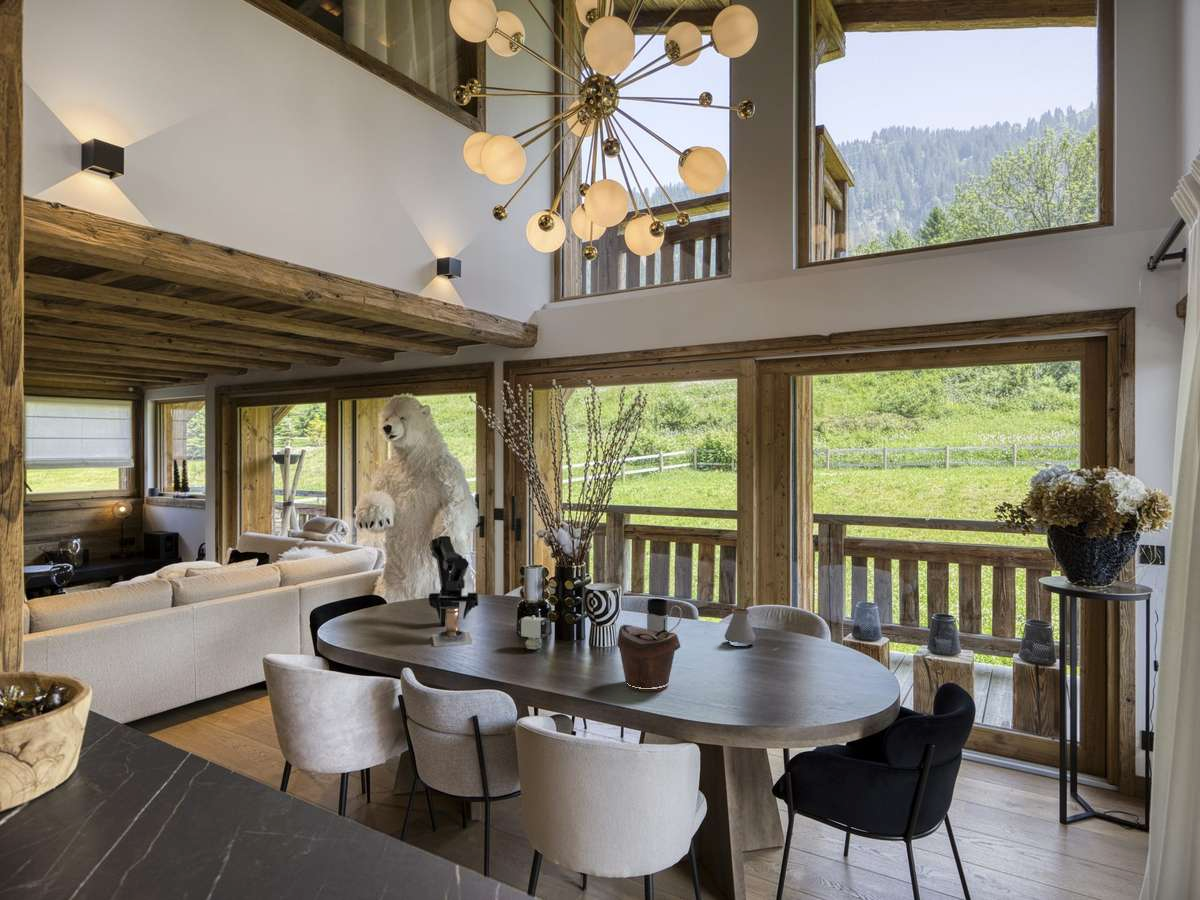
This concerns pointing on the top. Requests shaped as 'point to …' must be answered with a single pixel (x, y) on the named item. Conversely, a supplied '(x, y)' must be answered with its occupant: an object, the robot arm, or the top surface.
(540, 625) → the pneumatic valve
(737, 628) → the coffee pot
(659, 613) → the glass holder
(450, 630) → the copper cylindrical jar
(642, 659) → the brown flower pot
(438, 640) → the duct collar plate
